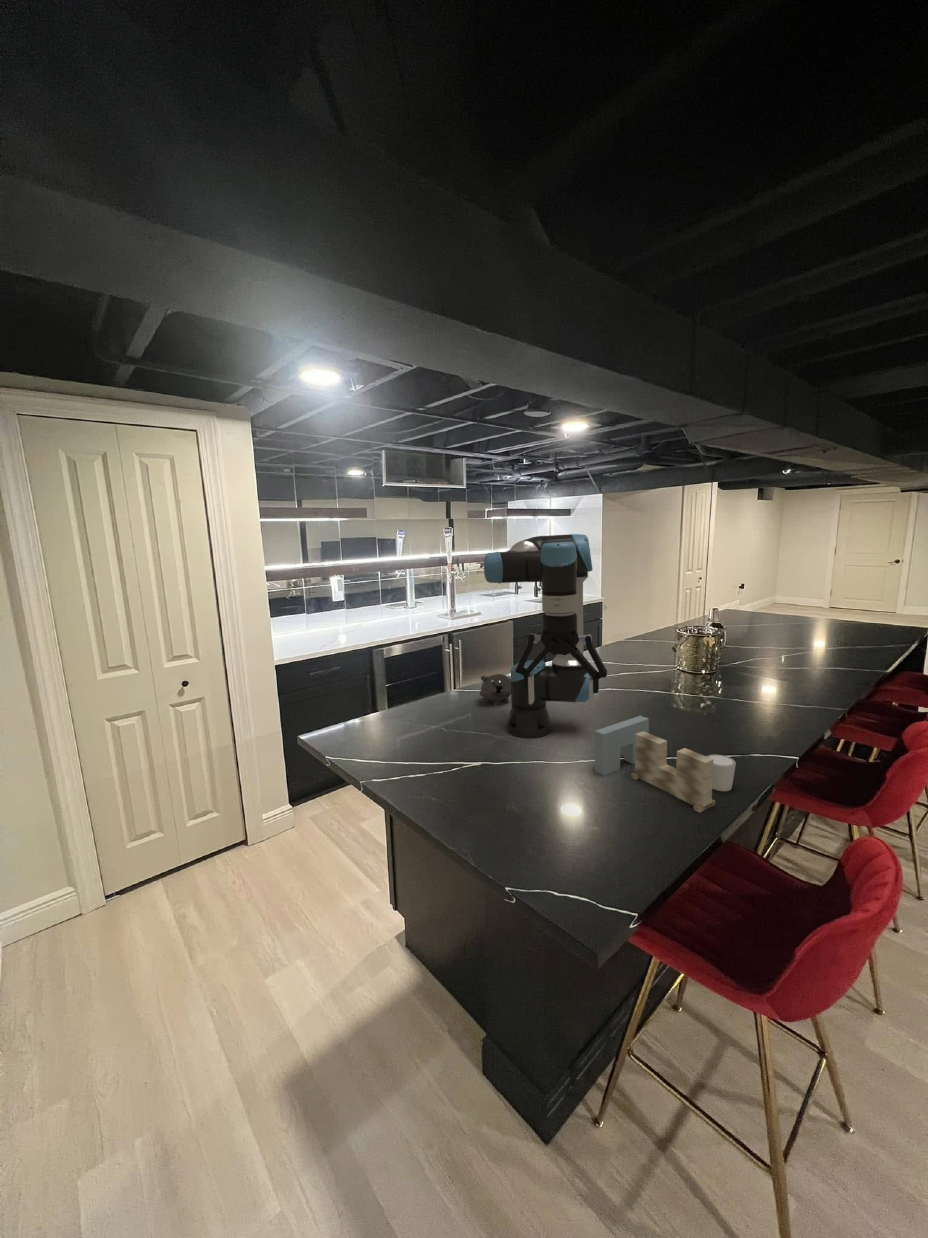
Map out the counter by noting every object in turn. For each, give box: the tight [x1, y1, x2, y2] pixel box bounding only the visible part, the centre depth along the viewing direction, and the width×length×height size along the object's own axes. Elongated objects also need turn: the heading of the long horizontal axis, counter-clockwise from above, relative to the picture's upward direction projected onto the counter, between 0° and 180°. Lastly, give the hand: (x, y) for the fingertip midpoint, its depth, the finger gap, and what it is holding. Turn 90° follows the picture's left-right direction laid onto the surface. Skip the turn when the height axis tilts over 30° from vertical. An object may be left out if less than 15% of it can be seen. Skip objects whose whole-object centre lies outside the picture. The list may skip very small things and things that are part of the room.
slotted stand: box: [630, 731, 716, 814], centre depth 120 cm, size 20×6×12 cm, turn 30°
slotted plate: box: [594, 715, 650, 777], centre depth 134 cm, size 18×3×12 cm, turn 120°
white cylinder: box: [706, 753, 737, 792], centre depth 122 cm, size 7×7×7 cm
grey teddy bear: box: [479, 673, 511, 706], centre depth 189 cm, size 11×15×12 cm
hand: (560, 704), depth 109 cm, fingers open, 13 cm apart
